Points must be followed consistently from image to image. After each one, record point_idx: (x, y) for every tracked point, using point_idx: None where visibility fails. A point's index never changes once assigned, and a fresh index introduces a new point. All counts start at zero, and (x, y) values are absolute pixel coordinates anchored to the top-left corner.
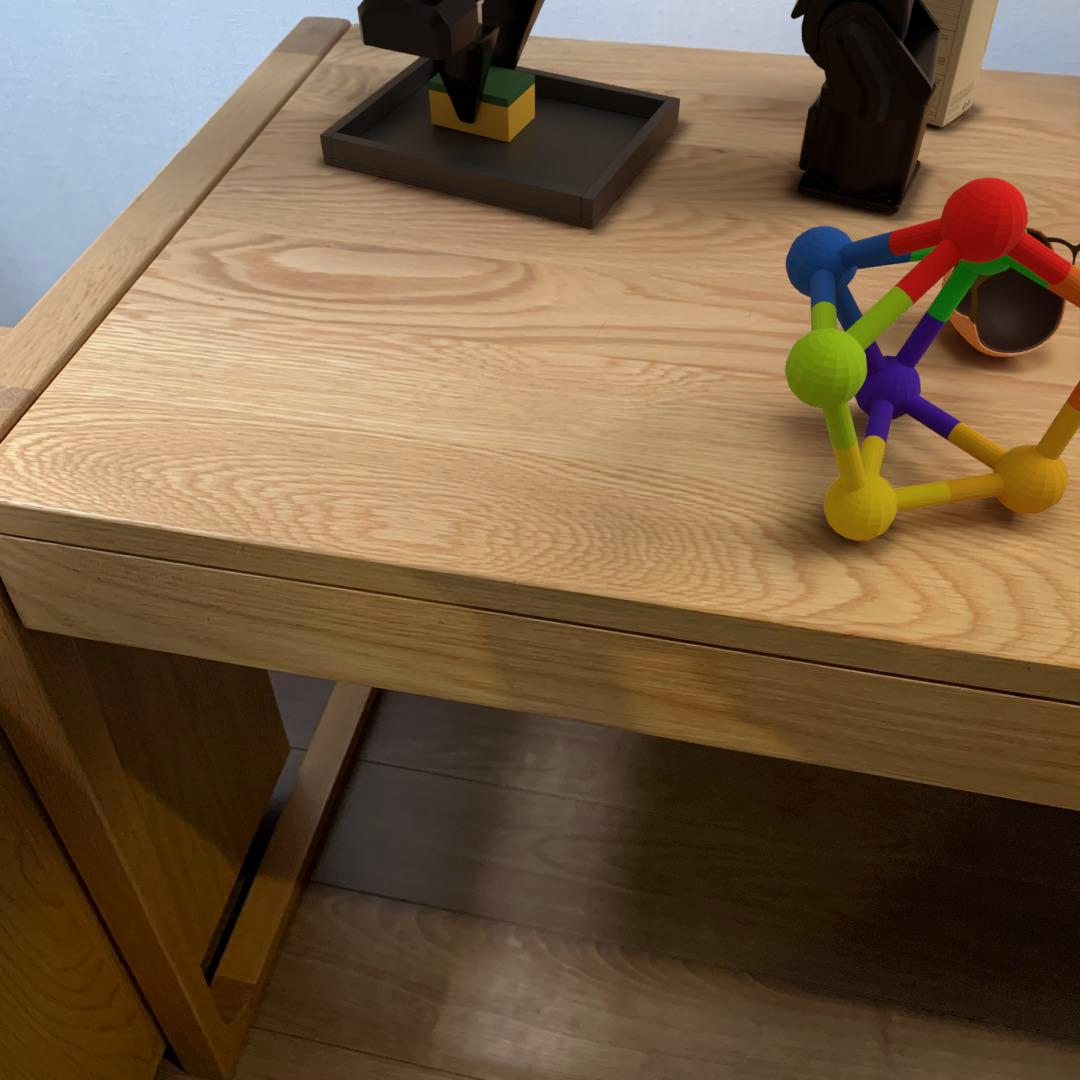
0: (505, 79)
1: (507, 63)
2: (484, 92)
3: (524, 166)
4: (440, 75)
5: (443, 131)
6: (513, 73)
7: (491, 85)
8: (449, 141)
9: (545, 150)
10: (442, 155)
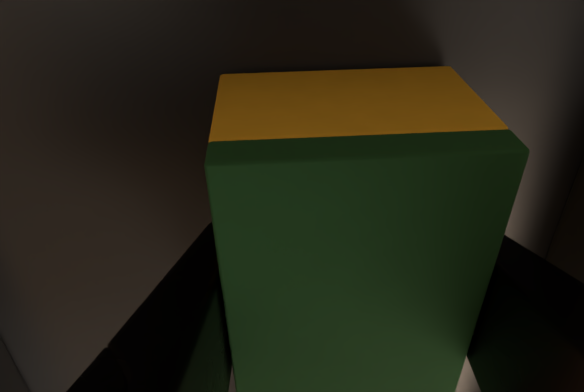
0: (375, 380)
1: (478, 368)
2: (242, 376)
3: None
4: (100, 354)
5: (207, 131)
6: (433, 379)
7: (308, 369)
8: (157, 183)
9: None
10: (68, 209)
